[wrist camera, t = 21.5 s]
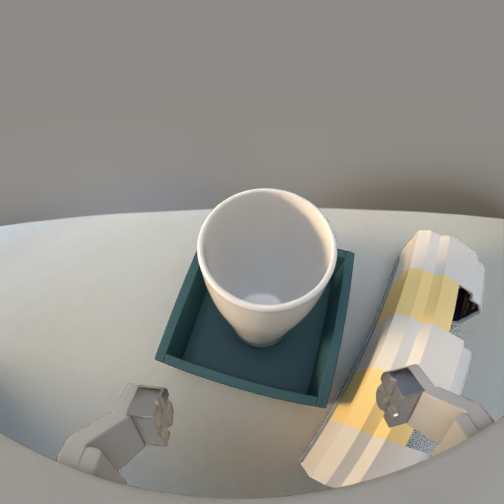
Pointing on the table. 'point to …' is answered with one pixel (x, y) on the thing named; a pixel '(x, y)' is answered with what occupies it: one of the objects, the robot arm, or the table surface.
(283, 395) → the bin
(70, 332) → the table surface
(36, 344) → the table surface
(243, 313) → the drinking glass
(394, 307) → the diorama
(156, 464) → the table surface
